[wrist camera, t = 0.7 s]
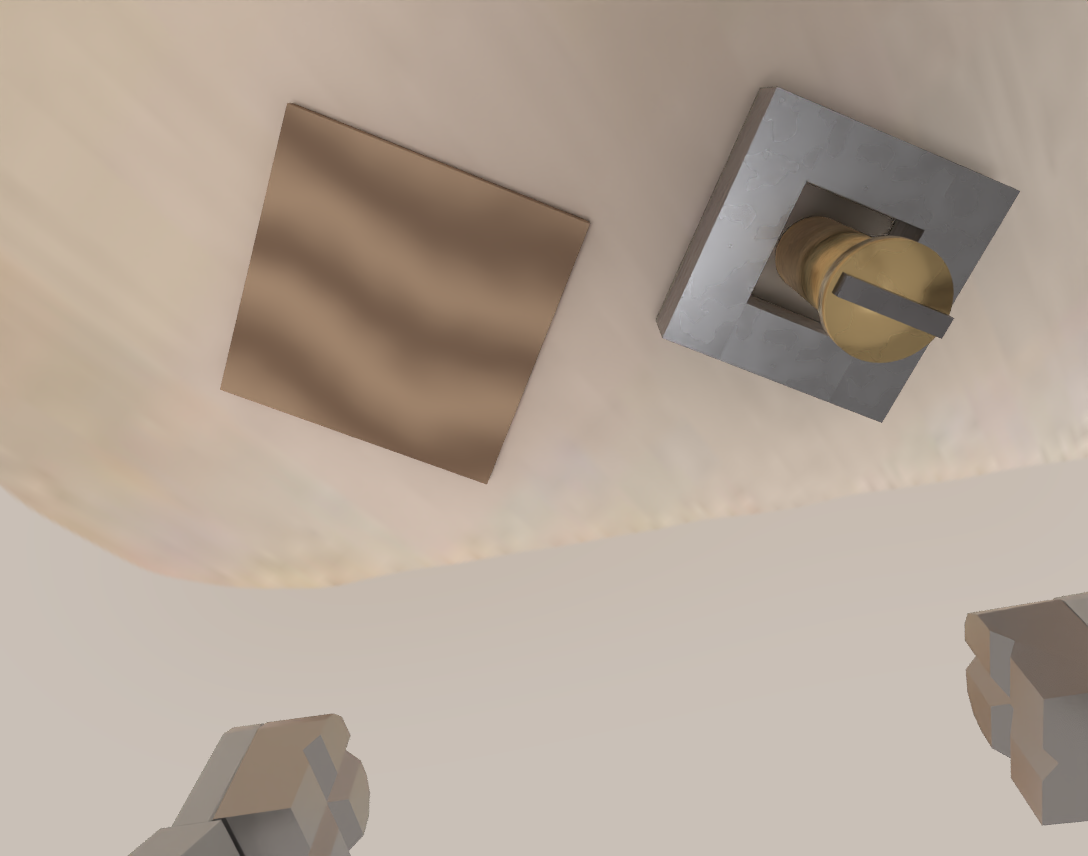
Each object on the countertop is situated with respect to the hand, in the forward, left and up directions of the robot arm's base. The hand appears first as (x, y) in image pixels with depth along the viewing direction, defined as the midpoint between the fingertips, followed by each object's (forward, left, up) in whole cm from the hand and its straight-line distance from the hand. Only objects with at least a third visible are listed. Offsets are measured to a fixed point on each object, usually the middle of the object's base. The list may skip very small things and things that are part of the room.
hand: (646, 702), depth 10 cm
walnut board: (+8, -9, -39) cm, 41 cm away
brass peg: (-4, +13, -39) cm, 42 cm away
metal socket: (-4, +13, -39) cm, 42 cm away
